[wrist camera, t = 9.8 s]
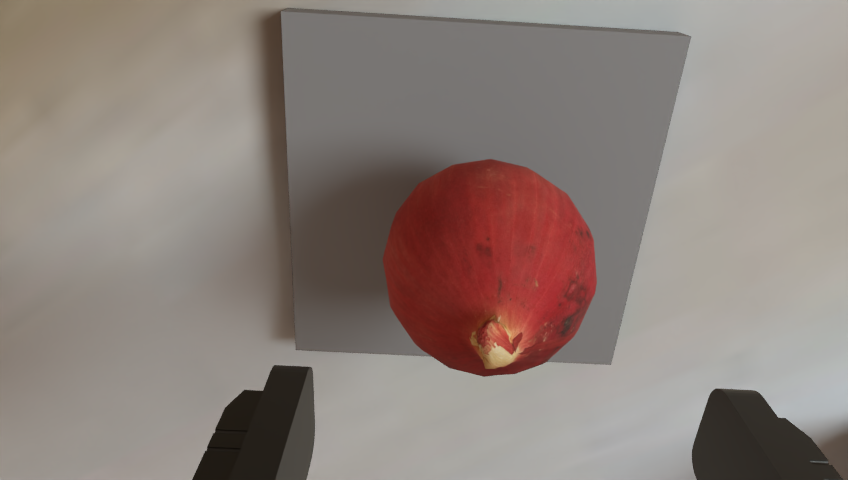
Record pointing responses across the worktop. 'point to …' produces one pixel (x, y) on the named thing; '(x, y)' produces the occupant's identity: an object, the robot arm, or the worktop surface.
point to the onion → (489, 267)
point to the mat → (462, 148)
